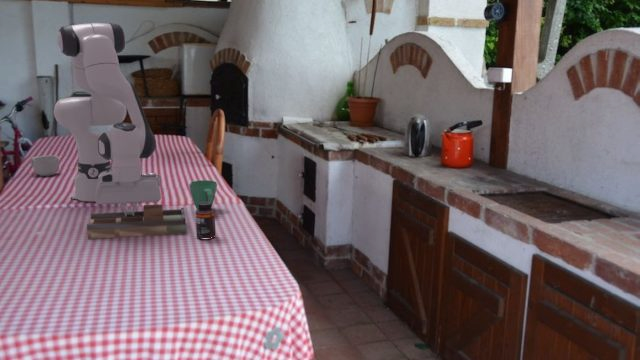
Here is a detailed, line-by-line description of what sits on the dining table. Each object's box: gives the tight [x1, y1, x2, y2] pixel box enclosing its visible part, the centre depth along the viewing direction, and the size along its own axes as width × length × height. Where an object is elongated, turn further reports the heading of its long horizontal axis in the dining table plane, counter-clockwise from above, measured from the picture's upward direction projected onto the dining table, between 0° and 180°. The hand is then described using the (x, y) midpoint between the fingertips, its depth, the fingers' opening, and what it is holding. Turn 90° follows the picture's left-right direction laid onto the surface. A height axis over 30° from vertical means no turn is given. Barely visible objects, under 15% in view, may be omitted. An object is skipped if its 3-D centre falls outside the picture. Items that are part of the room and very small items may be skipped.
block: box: [143, 203, 164, 221], centre depth 207 cm, size 6×6×4 cm
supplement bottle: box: [195, 202, 216, 239], centre depth 200 cm, size 6×6×11 cm
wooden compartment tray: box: [86, 207, 187, 240], centre depth 207 cm, size 13×30×5 cm, turn 104°
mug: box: [189, 179, 218, 211], centre depth 229 cm, size 15×10×10 cm
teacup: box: [29, 154, 60, 177], centre depth 283 cm, size 14×11×8 cm
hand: (129, 215), depth 205 cm, fingers closed
